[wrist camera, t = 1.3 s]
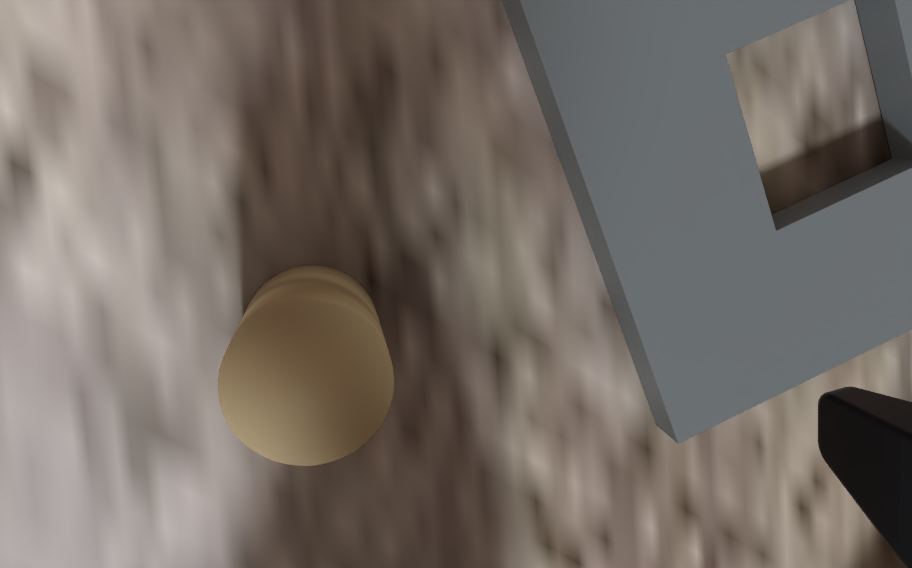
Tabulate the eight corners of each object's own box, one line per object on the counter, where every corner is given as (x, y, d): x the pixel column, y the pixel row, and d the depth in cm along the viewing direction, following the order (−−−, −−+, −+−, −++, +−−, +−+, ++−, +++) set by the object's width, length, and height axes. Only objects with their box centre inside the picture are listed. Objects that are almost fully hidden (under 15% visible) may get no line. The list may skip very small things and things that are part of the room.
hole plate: (656, 425, 23) (681, 446, 22) (484, -48, 19) (499, -66, 18) (1045, 236, 25) (1096, 242, 23) (959, -242, 21) (1013, -274, 19)
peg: (280, 413, 21) (266, 493, 16) (219, 298, 20) (185, 347, 15) (399, 359, 21) (420, 421, 17) (345, 242, 20) (351, 273, 16)
